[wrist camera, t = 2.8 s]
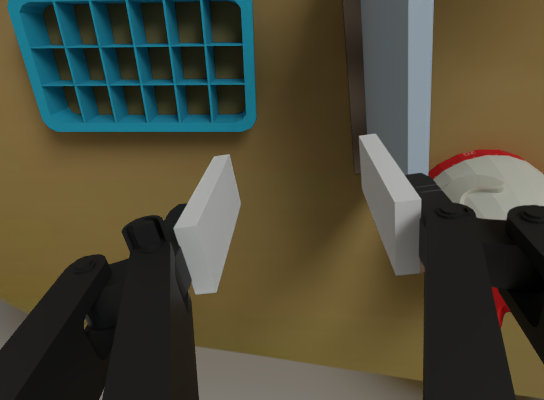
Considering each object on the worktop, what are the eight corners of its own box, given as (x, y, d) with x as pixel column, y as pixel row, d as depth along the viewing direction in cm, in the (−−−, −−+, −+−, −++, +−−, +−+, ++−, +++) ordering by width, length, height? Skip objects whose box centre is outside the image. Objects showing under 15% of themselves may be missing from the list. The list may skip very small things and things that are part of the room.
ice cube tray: (26, -8, 32) (2, -10, 29) (255, -13, 30) (251, -16, 28) (63, 123, 37) (45, 131, 34) (259, 123, 36) (256, 131, 33)
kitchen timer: (380, 202, 39) (425, 300, 25) (503, 120, 34) (638, 188, 21) (444, 281, 43) (512, 400, 30) (562, 218, 38) (705, 326, 25)
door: (396, 150, 35) (452, 223, 23) (368, 154, 36) (407, 228, 23) (395, -26, 29) (471, -57, 16) (359, -19, 29) (408, -45, 17)
